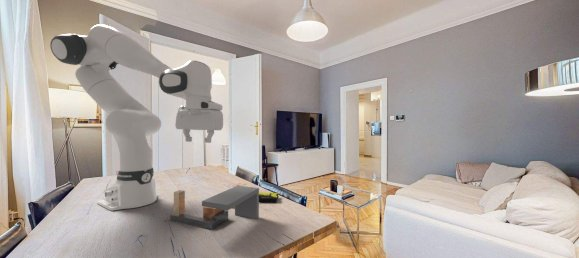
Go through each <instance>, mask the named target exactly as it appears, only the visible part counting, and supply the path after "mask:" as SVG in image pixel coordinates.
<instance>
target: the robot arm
mask: <svg viewBox="0 0 579 258" xmlns="http://www.w3.org/2000/svg"><path fill="white" fill-rule="evenodd" d="M49 46H50V50H51V52H52V54H53V56H54V57H55V58H56V59H57V60H58V61H59V62H61V63H63V64H67V65H72V66H77V65H79V67H78V68H77V69H76V71H75V73H74V74H75V79H77V81H78V83H79V84H80V86H81V87H82V88H83V90H84V91H85V92H86V93H87V95H88V96H89V97H90V98H91V99H92V100H93V102H95V103H96V104H97V105H98V106H99V107H100V109H102V110H103V111H105V112H106V113H108V115H107V116H106V119H105V127H106V129H107V131H108V132H110V134H112V136H113V137H114V139H115V141H116V143H117V144H116V145H117V148H118V151H119V170H117V172H116V176H117V177H116V180H115V181H113V183H111V184H110V185H109V186H108V187H107V188H106V190H105V191H104V198H102V199H99V200H98V201H97V204H98V205H99V206H101V207H103V208H105V209H107V210H109V211H117V210H118V211H119V210H123V209H124V210H125V209H134V208H140V207H143V206H147V205H150V204H153V203H155V202H156V201H157V198H158V197H159V194H158V193H157V189H156V187H157V186H156V180H155V179H154V174H155V172H154V167H153V149H152V147H150V146H149V143H148V139H147V137H148V136H151V135H153V134H156V133H157V132H158V131H160V129H161V128H162V127H161V126H162V121H161V119H160V117H159V116H158V115H156V114H155V113H153V112H152V111H150V110H149V108H147V107H145V105H143V104H142V103H140V102H139V101H138V100H137V99H135V97H133V96H132V95H131V94H130V93H129V92H128V91H127V90H126V89H125V88H124V87H123V85H121V84H120V83H119V82H118V81H117V79H116V78H114V76H113V75H111V73H110V71H109V70H111V71H112V70H115V69H116V68H117V65H121V66H122V67H125V68H128V69H132V70H134V71H137V72H141V73H145V74H148V75H151V76H153V77H156V78H158V84H159V88H160V90H161V91H162V92H163V93H165V94H167V95H170V96H173V97H176V98H181V99H183V100H185V105H181V106H180V107H178V109H177V113H176V118H175V124H174V125H175V129H177V130H182V133H183V135H184V137H185V142H188V143H189V142H190V143H191V142H192V141H193V137H192V136H191V134H190V133H191V130H193V131H206V133H207V136H206V137H204V143H206V144H207V143H208V144H210V143H212V138H213V136H214V135H215V131H222V129H223V127H224V114H223V111H222V110H223V105H222V104H220V103H217V102H214V101H212V94H211V90H212V87H213V86H212V85H213V83H212V81H213V80H212V79H213V78H212V70H211V67H210V66H208V64H206V63H204V62H202V61H198V60H188V61H187V62H186V63H185V64H184V65H182V66H179V67H175V68H171V67H170V66H168V65H166V64H165V63H163V62H162V61H161V60H160V59H158V57H156V56H155V55H154V54H152V53H151V52H150V51H149V50H147V49H146V48H145V47H143V45H141V44H140V43H139V42H138V41H136V40H135V39H133V38H132V37H131V36H129V35H128V34H125V33H124V32H122V31H120V30H118V29H116V28H115V27H112V26H108V25H106V24H96V25H94V26H92V27H90V29H89V31H88V34H87V35H80V34H77V33H65V34H57V35H55V36H54V37H52V39H51V41H50V45H49Z"/></svg>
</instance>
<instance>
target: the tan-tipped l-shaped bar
mask: <svg viewBox="0 0 579 258" xmlns="http://www.w3.org/2000/svg"><path fill="white" fill-rule="evenodd" d="M185 211H186V190H176V191H174V192H173V213H171V214H169V220H170V221H172V222H175V223H180V224H181V223H182V224H185V225H190V226H194V227H198V228H202V229H203V228H204V229H206V230H207V229H208V230H214V229H216V228H217V227H219V226H220V225H222V224H223V223H225V222H226V221H228V220H229V210H228V211H227V210H223V211H221V212H219V213H217V214H215V215H214V216H212V220H211V219H206V218H203V217H201V216H200V217H199V216H195V215H190V214H186V212H185Z"/></svg>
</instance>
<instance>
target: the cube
mask: <svg viewBox="0 0 579 258" xmlns="http://www.w3.org/2000/svg"><path fill="white" fill-rule="evenodd" d="M221 211H223V210H222V209H216V208H210V207H204V206H202V218H206V219H211V220H212V216H214V215H215V214H217V213H219V212H221Z"/></svg>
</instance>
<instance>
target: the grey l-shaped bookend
mask: <svg viewBox="0 0 579 258" xmlns="http://www.w3.org/2000/svg"><path fill="white" fill-rule="evenodd" d="M259 192H260V188H259V187H253V186H245V185H244V186H243V185H236V186H233V187H231V188H228V189H227V190H224V191H222V192H220V193H217V194H215V195H212V196H210V197H208V198H206V199H203V200H201V207H210V208H216V209H222V210H226V211H228V212H229V210H231V209H234V208H233V207H235V209H234V216H236V217H243V218H249V219H255V220H257V219H259V217H260V216H259V215H260V214H259V213H260V212H259V211H260V209H259V208H260V205H259V204H260V202H259Z"/></svg>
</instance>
